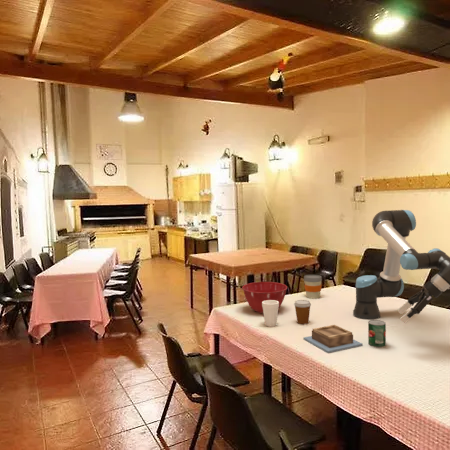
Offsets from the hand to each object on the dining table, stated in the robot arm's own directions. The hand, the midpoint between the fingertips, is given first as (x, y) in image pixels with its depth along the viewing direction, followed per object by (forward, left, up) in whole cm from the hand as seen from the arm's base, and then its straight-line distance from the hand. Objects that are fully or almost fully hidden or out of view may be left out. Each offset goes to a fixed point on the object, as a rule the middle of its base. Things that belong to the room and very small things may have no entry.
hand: (400, 316), depth 187 cm
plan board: (+25, -19, -14) cm, 34 cm away
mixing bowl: (+27, -84, -15) cm, 89 cm away
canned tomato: (+8, -7, -15) cm, 18 cm away
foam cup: (+38, -57, -15) cm, 70 cm away
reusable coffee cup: (-18, -96, -15) cm, 99 cm away
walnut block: (+25, -19, -14) cm, 34 cm away
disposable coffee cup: (+20, -52, -15) cm, 57 cm away
